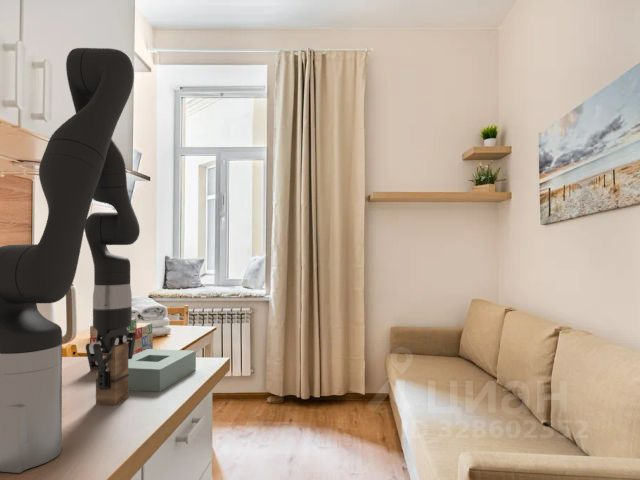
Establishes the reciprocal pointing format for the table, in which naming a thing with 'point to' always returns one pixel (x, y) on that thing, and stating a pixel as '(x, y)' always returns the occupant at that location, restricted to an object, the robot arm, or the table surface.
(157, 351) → the socket board
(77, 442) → the table surface
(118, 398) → the walnut peg
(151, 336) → the stack of blocks
